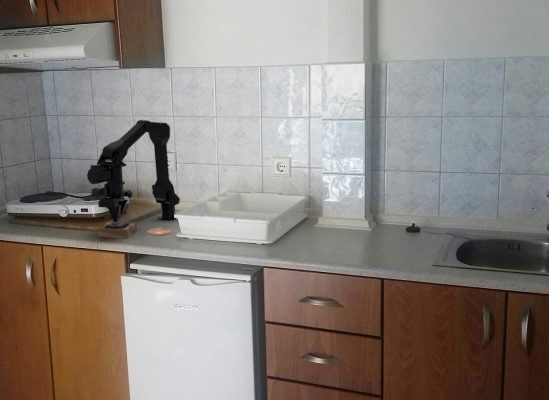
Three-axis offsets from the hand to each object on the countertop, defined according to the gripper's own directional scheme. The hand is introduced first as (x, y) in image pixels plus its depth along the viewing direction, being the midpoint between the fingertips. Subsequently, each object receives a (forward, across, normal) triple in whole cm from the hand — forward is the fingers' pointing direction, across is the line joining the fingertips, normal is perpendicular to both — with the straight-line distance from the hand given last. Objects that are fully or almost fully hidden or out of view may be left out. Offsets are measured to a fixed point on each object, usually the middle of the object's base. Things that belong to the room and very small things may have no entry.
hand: (117, 220), depth 230 cm
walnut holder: (+5, 0, 0) cm, 5 cm away
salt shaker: (+5, 0, 0) cm, 5 cm away
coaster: (+5, -4, +15) cm, 16 cm away
